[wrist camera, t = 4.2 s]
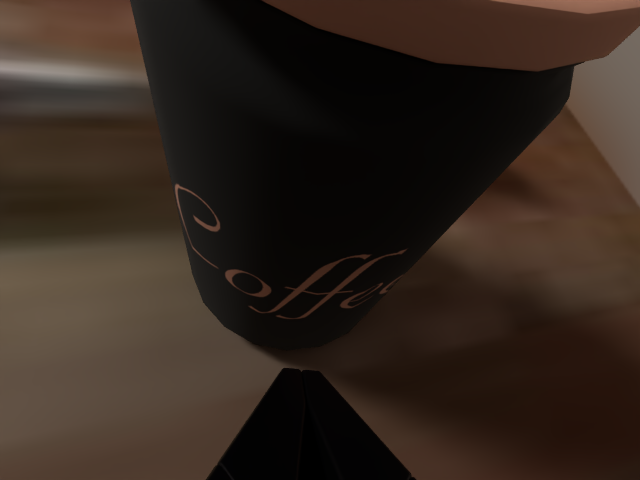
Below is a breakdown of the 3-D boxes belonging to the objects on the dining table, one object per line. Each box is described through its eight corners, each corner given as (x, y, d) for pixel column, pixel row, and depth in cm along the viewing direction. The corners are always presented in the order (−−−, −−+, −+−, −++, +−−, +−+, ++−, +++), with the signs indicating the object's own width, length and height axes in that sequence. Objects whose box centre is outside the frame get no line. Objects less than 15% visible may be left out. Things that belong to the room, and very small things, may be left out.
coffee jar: (155, 313, 19) (-151, -238, 4) (240, 169, 25) (252, -288, 9) (348, 385, 19) (789, 131, 4) (389, 226, 25) (636, -133, 10)
